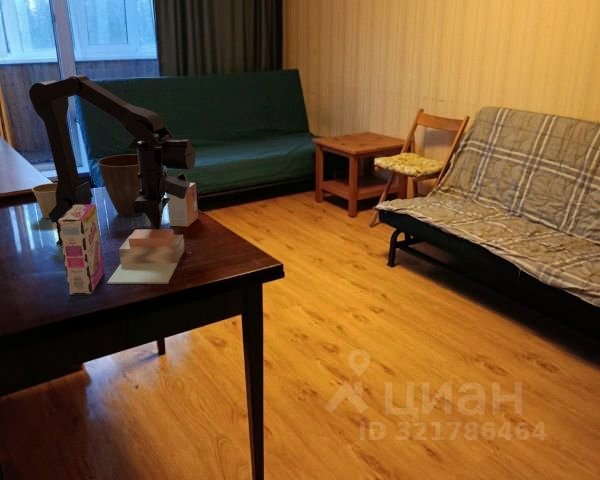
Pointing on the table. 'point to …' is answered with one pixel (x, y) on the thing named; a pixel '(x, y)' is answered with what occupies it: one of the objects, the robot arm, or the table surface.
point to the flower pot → (45, 197)
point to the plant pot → (121, 182)
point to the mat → (143, 273)
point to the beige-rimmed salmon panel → (151, 238)
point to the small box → (183, 208)
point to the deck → (153, 252)
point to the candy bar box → (81, 248)
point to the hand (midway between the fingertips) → (157, 229)
